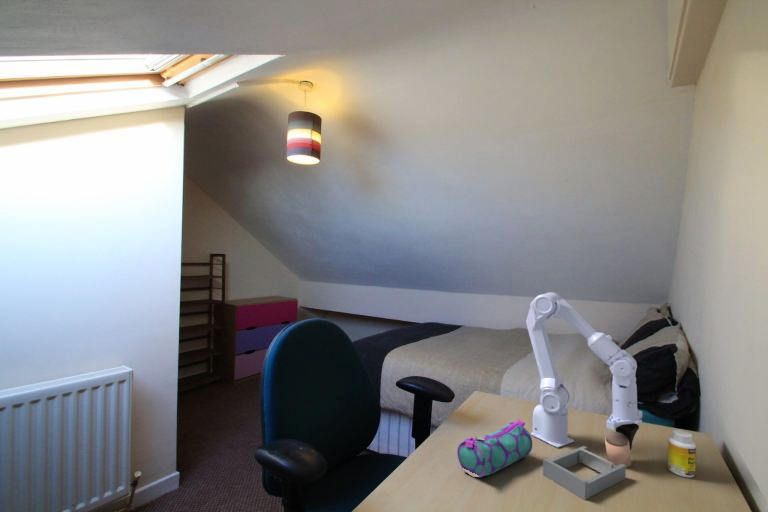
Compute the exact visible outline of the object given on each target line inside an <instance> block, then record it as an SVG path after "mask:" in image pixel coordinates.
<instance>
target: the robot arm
mask: <svg viewBox="0 0 768 512" xmlns="http://www.w3.org/2000/svg"><path fill="white" fill-rule="evenodd" d="M529 305H530V307H529V310H528V314H527V317H526V320H525V322H526V328H527V331H528V334H529V335H528V336H529V339H530V343H531V346H532V350H533V354H534V358H535V362H536V365H537V369H538V374H539V378H540V388H539V390H540V398H539V400H540V401H539V402H540V403H539V404H537V405H536V406H535V407H534V409H533V410H532V411H533V412H532V432H530V435H531V436H533V437H535V438H537V439H539V440H541V441H543V442H545V443H547V444H549V445H551V446H553V447H555V448H557V449H559V448H561V447H564V446H566V445H570V444H571V443H574V442H575V440H574V439H573V438H570V437H569V436H568V432H569V428H568V426H569V424H568V423H569V409H568V407H567V405H566V404H567V403H569V400H570V392H569V390H568V389H567V388H566V386H565V385H564V382H563V379H562V378H561V376H559V372H558V368H557V365H556V362H555V358H554V355H553V350H552V347H551V342H550V340H549V339H550V338H549V336H548V332H547V329H546V323H547V322H549V319H550V318H551V316H552V317H553V318H556V319H561V320H564V321H566V322H567V323H568V324H570V325H571V326H572V327H573V328H574V329H575V330H576V331H577V332H578V333H580V334H581V335H582V336H583V338H585V339H586V340H587V346H588V348H589V349H590V350H591V351H592V352H594V354H595V355H596V356H597V357H598V358H599V359H600V360H601V361H602V362H603V363H605V364H606V365H608V366H609V371H610V373H611V374H612V381H611V393H612V394H611V395H612V396H611V397H612V399H611V400H612V412H611V414H610V416H609V418H608V419H607V420H606V421H605V422H606V429H609V430H612V431H615V432H619V433H622V434H624V435H625V436H627V438H628V440H629V445H630V452H631V450H632V448H633V441H634V438H635V436H636V434H637V431H638V430H639V429H640V424H643V420H642V419H643V410H639V409H638V391H637V390H638V389H637V388H638V387H637V383H636V382H637V377H636V372H637V368H638V364H637V360H636V359H635V358H634V357H633V355H632V354H629V353H627V351H626V350H625V349H621V347H619V346H618V344H616V343H615V342H614V341H613V337H612V336H611V335H610V334H608V335H607V334H605V332H599V331H598V332H597V331H596V330H595V329H594V328H593V327H592V326H591V325H590V324H589V323H588V322H587V321H586V320H585V318H583V316H581V315H580V314H579V312H578V311H577V310H576V309H574V308H573V306H572V305H571V304H569V303H568V301H566V300H565V299H564V298H562V297H561V296H560V295H559V294H558V293H556V292H552V291H549V292H546V293H544V294H542V293H541V294H539V295H537V296H536V297H535V298H534V299H533V300H532V301H531V302H530V304H529Z"/></svg>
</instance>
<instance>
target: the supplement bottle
mask: <svg viewBox="0 0 768 512" xmlns="http://www.w3.org/2000/svg"><path fill="white" fill-rule="evenodd" d="M696 451H697V445H696V443H695V442H694V441H693V435H692V433H690V432H688V431H685V430H683V429H673V430H672V435H671V436H669V438H668V454H667V466H668V469H669V471H670V472H671V473H673V474H675V475H677V476H680V477H683V478H693V477H694V476H695V475H696V461H697V460H696V458H697V457H696V453H697V452H696Z"/></svg>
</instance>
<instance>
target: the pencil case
mask: <svg viewBox="0 0 768 512" xmlns="http://www.w3.org/2000/svg"><path fill="white" fill-rule="evenodd" d="M525 424H526V422H525V421H523V420H520V419H518V420H517V421H516V422H509V423H507V424H505V426H504V427H502V428H499V429H498V430H496V431H494V432H490V433H489V434H485V435H484V436H481V437H477V436H474V437H467V438H465V439H463V440H462V441H461V442H460V443H458V447H457V451H456V452H457V459H458V462H459V465H460V466H461V468H462V469H463V468H464V469H466V470H469V471H470V472H472V473H475V474H477V475H478V476H479V477H478V478H483V477H485V476H489V475H492V474H495V473H496V472H498V471H500V469H501V470H503V469H505V468H507V467H508V466H510V465H512V464H513V463H515V462H518V461H519V460H520V459H522V458H524V457H526V456H527V455H529V454H530V453H531V452H532V449H533V438H532V435H531V433H530V432H529V430H527V428H525V427H524V426H525Z"/></svg>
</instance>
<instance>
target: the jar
mask: <svg viewBox="0 0 768 512" xmlns="http://www.w3.org/2000/svg"><path fill="white" fill-rule="evenodd" d="M604 435H605V437H604V444H605V450H606V460H608V461H610V462H612V463H614V467H615V466H617V465H620V464H624V465H626V469H627V468H629V467H630V466H632V455H631V451H630V445H629V440H628V438H627V436H625V435H624V434H622V433H619V432H616V431H609V432H607V433H606V434H604Z"/></svg>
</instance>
